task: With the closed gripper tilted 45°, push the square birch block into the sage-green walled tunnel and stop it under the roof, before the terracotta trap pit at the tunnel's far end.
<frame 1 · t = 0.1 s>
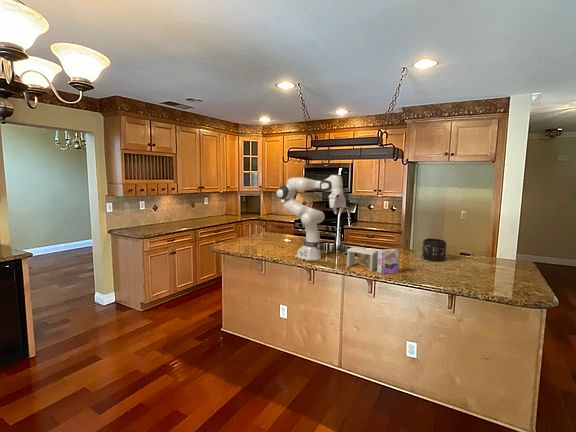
hand: (338, 213, 260), 39 cm above the countertop, tool pointing down, fingers open, 8 cm apart
candy box: (387, 272, 240), on the countertop
tunnel: (361, 267, 252), on the countertop
trap pit: (357, 269, 246), on the countertop
birch block: (367, 264, 261), on the countertop
lettered black canister: (433, 259, 277), on the countertop
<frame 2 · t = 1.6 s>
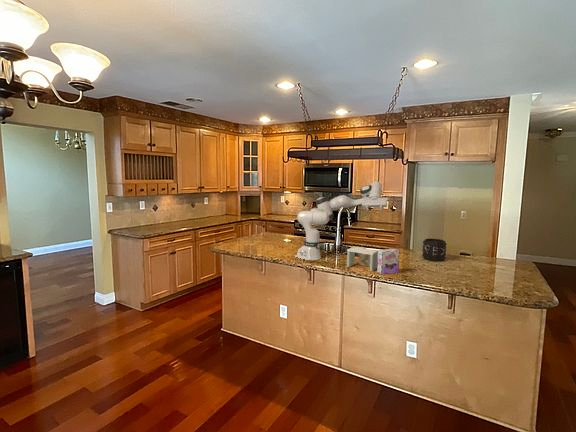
hand: (373, 210, 277), 39 cm above the countertop, tool tilted 45°, fingers open, 8 cm apart
nothing on the countertop moved.
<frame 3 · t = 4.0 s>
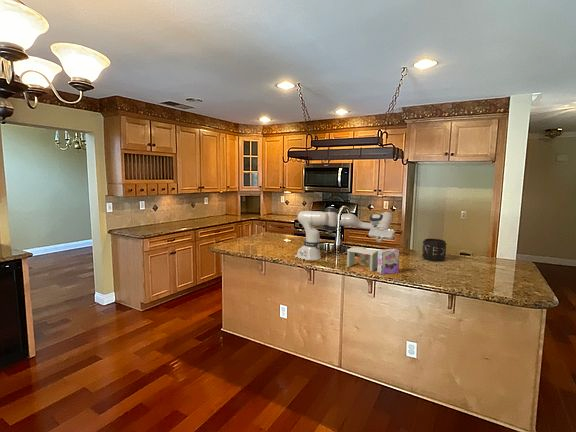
hand: (378, 242, 275), 14 cm above the countertop, tool tilted 45°, fingers closed
nothing on the countertop moved.
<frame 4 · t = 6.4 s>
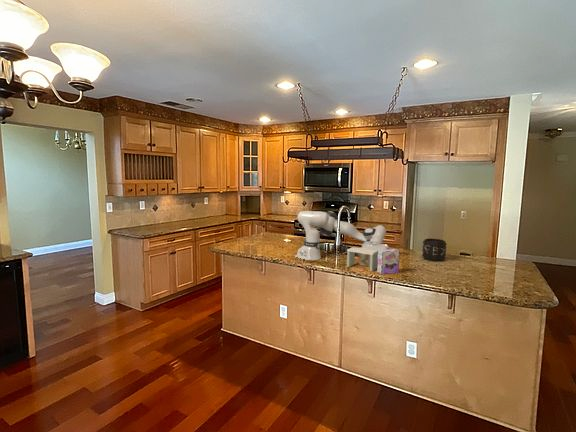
hand: (371, 257, 265), 4 cm above the countertop, tool tilted 45°, fingers closed
birch block: (367, 264, 261), on the countertop, touching gripper
everything else where it was.
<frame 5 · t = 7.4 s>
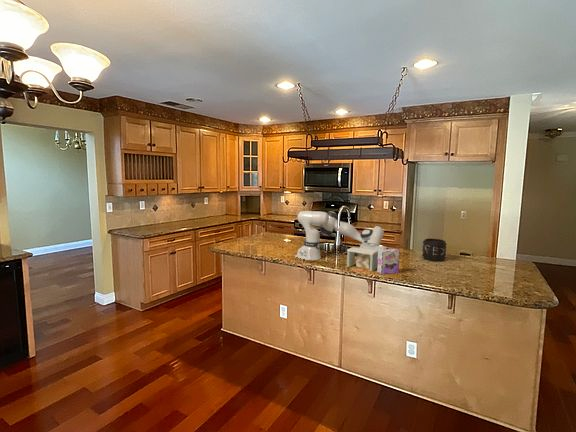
hand: (368, 259, 260), 4 cm above the countertop, tool tilted 45°, fingers closed, pressing on birch block
birch block: (365, 265, 257), on the countertop, touching gripper
everything else where it was.
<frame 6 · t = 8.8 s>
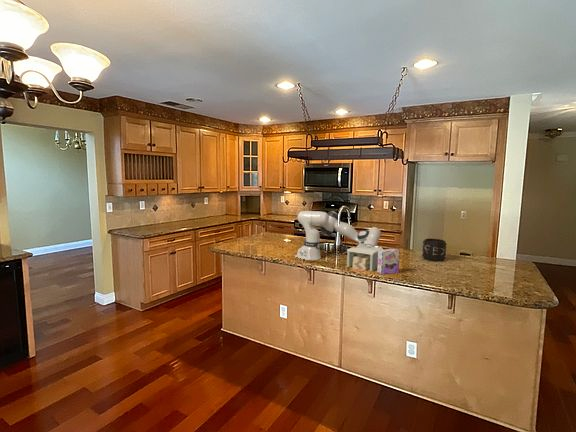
hand: (365, 260, 256), 4 cm above the countertop, tool tilted 45°, fingers closed
birch block: (361, 267, 252), on the countertop
everything else where it was.
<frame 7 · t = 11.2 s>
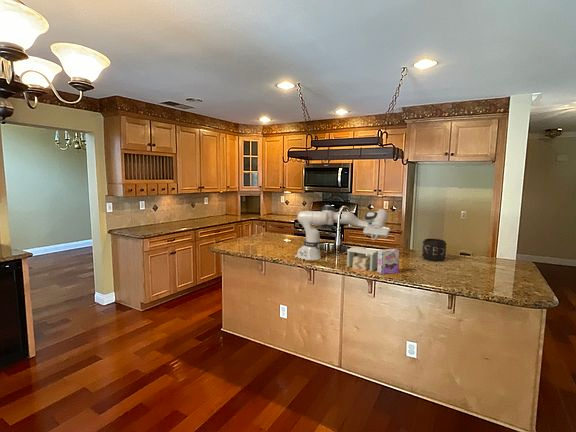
hand: (373, 240, 268), 17 cm above the countertop, tool tilted 45°, fingers closed
nothing on the countertop moved.
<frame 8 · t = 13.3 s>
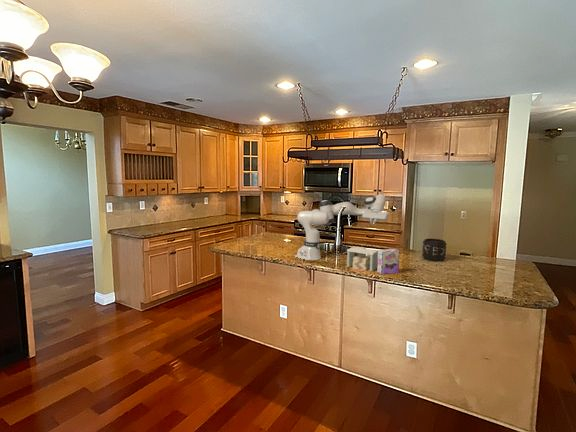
hand: (372, 223, 272), 29 cm above the countertop, tool tilted 45°, fingers closed
nothing on the countertop moved.
at the end: birch block inside the target area (0.6 cm from its centre), on the countertop; birch block tilted 0°; birch block touching countertop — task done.
